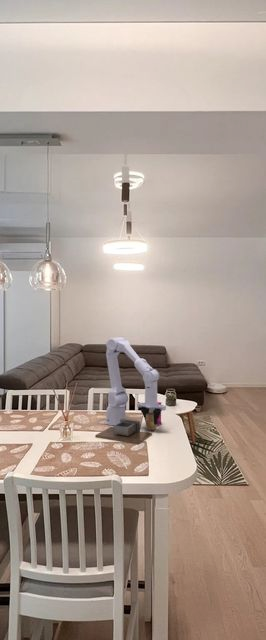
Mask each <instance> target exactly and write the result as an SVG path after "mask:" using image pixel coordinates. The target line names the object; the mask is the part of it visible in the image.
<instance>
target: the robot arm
mask: <svg viewBox="0 0 266 640" xmlns="http://www.w3.org/2000/svg"><path fill="white" fill-rule="evenodd" d="M105 346H106V352H105V356H106V363H107V368H108V374H109V381H110V390H109V391H108V396H107V397H108V398H107V402H108V403H107V404H108V406H107V407H106V411H105V417H106V418H105V421H106V422H105V425H109V426H114V425H116V424H118V423H120V419H126V406H127V403H128V402H129V395H128V393H127V391H126V389H125V387H123V386H122V384H123V383H122V376H121V372H120V366H119V359H118V356H119V354H121V353H124V354H125V355H126V356H127V357H128V358H129V359H130V360H131V361H132V362H133V363H134V367H135V368H136V370H137V371H138V372H139V373H140V375H141V376H142V380H143V382H144V390H145V391H144V393H145V394H144V395H145V396H144V397H145V398H144V399H145V401H144V402H137V403H136V408H141V409H140V412H141V413H142V415H143V419H144V421H145V424H146V414H147V413H149V409H150V408H151V409H155V410H153V413H154V425H156V424H157V422H158V418H159V415H160V413H161V414H162V411H166V410H167V405H163V404H161V405H160V404H157V402H158V380H159V379H160V373H159V371H158V370H157V369H155V368H153V367H152V366H151V365H150V364H149V363H148V362H147V360H146V358H145V359H144V358H140V357H139V354H137V353H136V351H135V350H134V349H133V348H132V346H131V345H130V341H129V340H128V339H127V338H126V337H124V336H120V337H110V338H109V339H108V340H107V341H106V343H105Z"/></svg>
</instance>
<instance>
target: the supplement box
mask: <svg viewBox="0 0 266 640" xmlns="http://www.w3.org/2000/svg"><path fill="white" fill-rule="evenodd" d="M157 404H160V405H162V402H161V401H157ZM153 410H155V409H151V408H150V409H149V412H152V413H153ZM160 425H162V412H161V413H160V415H159V418H158V422H157V427H158V426H160Z"/></svg>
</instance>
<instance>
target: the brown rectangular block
mask: <svg viewBox="0 0 266 640" xmlns="http://www.w3.org/2000/svg"><path fill="white" fill-rule="evenodd" d="M157 428H158V426H157V424H156V425H154V413H152V412H149V413H147V414H146V423H145V429H146V430H151V431H152V430H153V431H154V430H156V429H157Z"/></svg>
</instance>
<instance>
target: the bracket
mask: <svg viewBox="0 0 266 640" xmlns="http://www.w3.org/2000/svg"><path fill="white" fill-rule="evenodd" d="M140 426H141V424H140V420H134V419H128V418H125V419H120V423H118V424H116V425H113V426H110V427H108V428H105V429H104V430H103V431H101V432H99V433H96V434H95V435H94V436H95V438H99V439H102V440H103V439H104V440H110V441H115V442H122V443H125V444H127V443H128V444H134V445H140V444H141V443H142V442H143V443H144V441H145V440H147V439H148V438H150V437H151V436H153V432H147V431H141V427H140Z"/></svg>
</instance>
